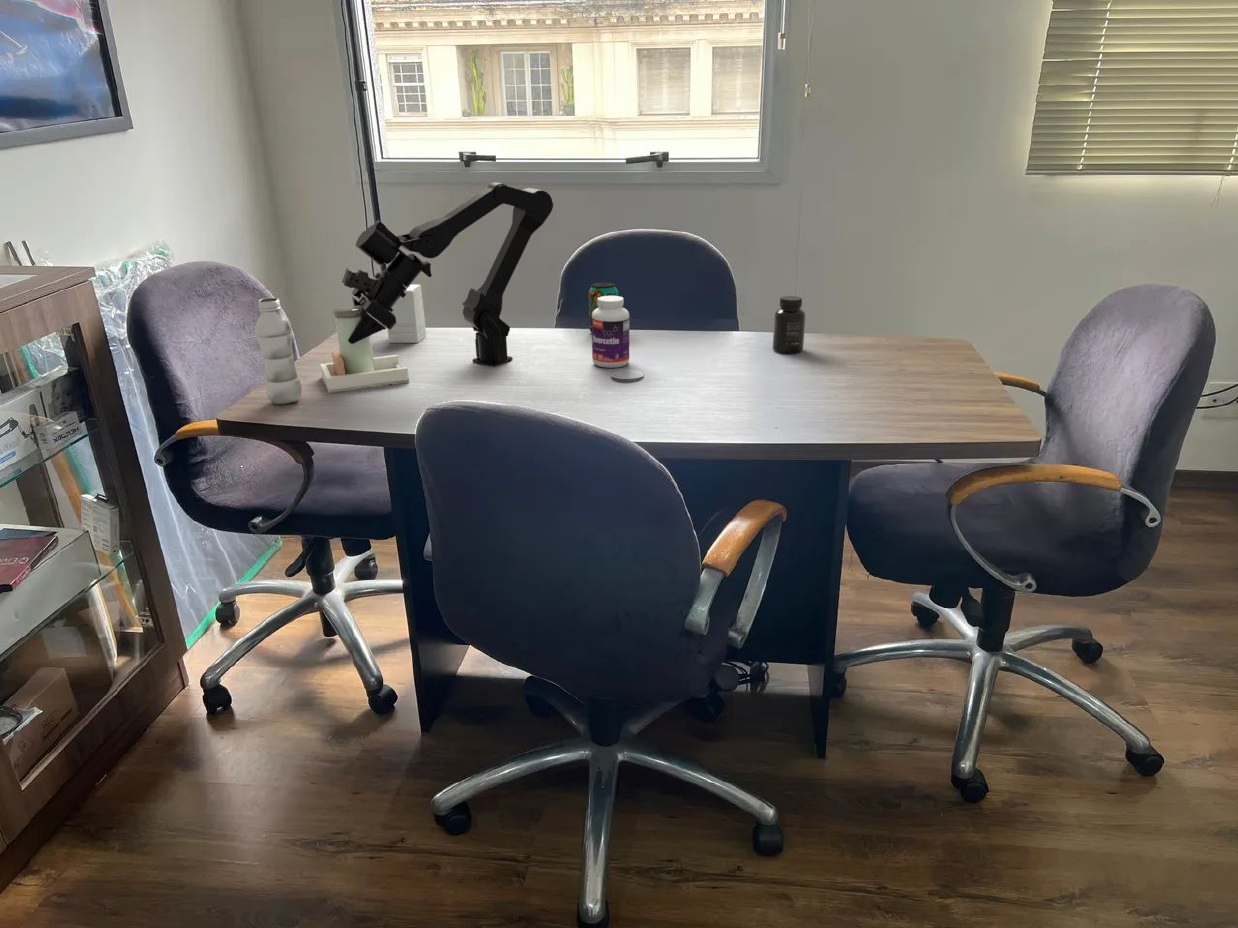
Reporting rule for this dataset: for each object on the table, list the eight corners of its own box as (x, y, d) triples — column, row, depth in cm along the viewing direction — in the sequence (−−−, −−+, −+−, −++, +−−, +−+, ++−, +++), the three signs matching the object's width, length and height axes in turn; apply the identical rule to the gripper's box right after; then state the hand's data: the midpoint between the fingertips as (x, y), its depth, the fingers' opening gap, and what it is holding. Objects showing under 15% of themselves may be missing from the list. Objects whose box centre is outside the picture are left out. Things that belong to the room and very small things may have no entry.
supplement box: (427, 335, 217) (422, 284, 212) (418, 343, 211) (412, 290, 206) (398, 335, 218) (392, 283, 213) (387, 343, 211) (381, 290, 206)
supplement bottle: (807, 349, 203) (811, 296, 198) (796, 356, 197) (799, 302, 193) (779, 344, 206) (782, 293, 201) (767, 352, 201) (770, 299, 196)
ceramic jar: (381, 367, 186) (373, 306, 181) (365, 376, 180) (357, 313, 175) (352, 365, 187) (343, 304, 182) (336, 375, 181) (326, 312, 176)
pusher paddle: (340, 373, 186) (337, 350, 184) (346, 384, 179) (343, 360, 177) (334, 373, 186) (331, 350, 184) (340, 385, 179) (337, 361, 177)
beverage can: (587, 336, 215) (586, 286, 210) (592, 329, 221) (591, 280, 217) (615, 337, 214) (615, 287, 209) (620, 329, 220) (620, 281, 215)
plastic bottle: (310, 398, 174) (295, 297, 166) (288, 409, 168) (271, 305, 161) (283, 395, 176) (266, 295, 168) (260, 406, 170) (241, 303, 163)
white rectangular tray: (398, 368, 192) (397, 354, 191) (409, 382, 183) (407, 368, 182) (322, 377, 187) (320, 364, 185) (328, 393, 177) (326, 378, 176)
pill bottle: (586, 367, 192) (584, 301, 186) (601, 357, 198) (600, 293, 193) (621, 371, 189) (620, 304, 183) (635, 360, 196) (634, 295, 190)
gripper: (356, 246, 184) (308, 304, 184) (371, 260, 168) (319, 324, 168) (399, 280, 190) (352, 337, 190) (417, 298, 174) (367, 359, 174)
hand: (347, 338), depth 180 cm, fingers closed on ceramic jar, 6 cm apart
